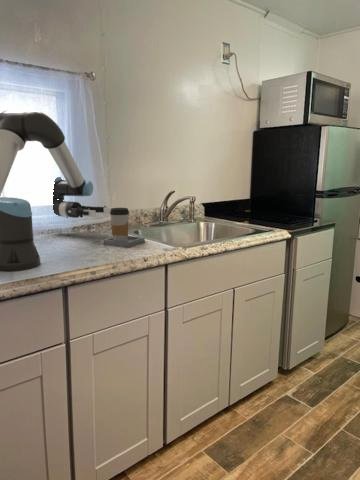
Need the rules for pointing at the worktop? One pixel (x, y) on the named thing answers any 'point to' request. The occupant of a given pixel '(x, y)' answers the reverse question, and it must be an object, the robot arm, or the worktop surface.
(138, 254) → the worktop surface
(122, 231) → the coffee cup
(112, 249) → the worktop surface
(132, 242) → the dish
